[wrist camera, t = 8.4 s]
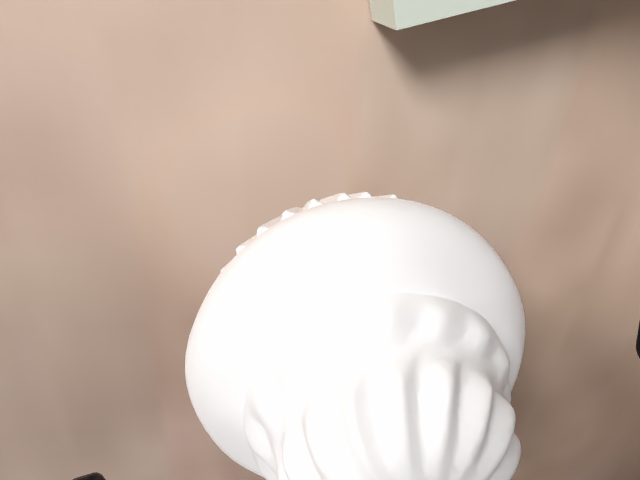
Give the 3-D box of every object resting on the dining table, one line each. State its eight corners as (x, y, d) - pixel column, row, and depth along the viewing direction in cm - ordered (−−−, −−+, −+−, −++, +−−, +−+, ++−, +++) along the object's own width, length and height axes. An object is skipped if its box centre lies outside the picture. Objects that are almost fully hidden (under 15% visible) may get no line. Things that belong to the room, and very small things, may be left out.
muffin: (463, 131, 11) (745, 326, 5) (428, 344, 14) (585, 624, 8) (177, 140, 10) (132, 396, 4) (203, 369, 13) (197, 710, 7)
